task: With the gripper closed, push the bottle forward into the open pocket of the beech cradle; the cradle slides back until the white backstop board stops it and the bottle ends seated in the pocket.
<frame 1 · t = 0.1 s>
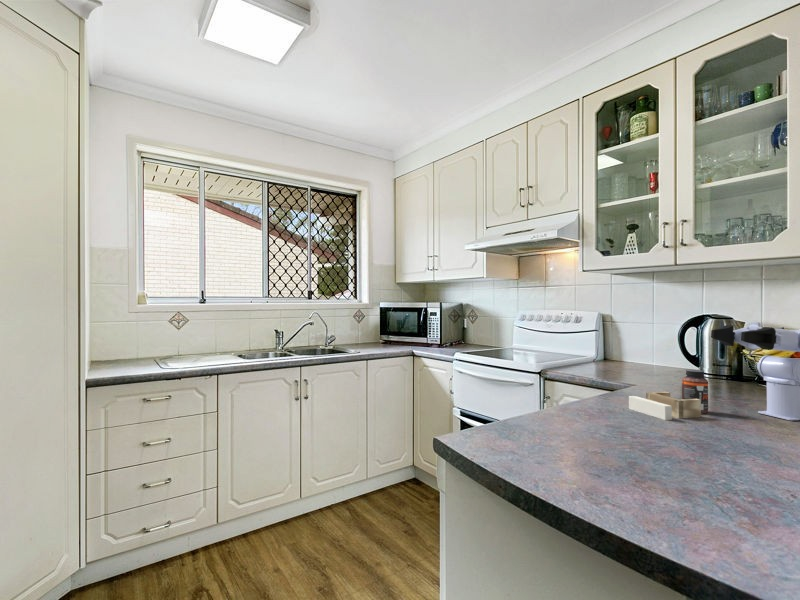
hand: (726, 335, 104), 22 cm above the worktop, tool horizontal, fingers open, 7 cm apart
cradle: (672, 404, 111), point 2 cm above the worktop, slide at 0.0 cm
backstop: (649, 413, 110), on the worktop
supplement bottle: (695, 412, 113), on the worktop
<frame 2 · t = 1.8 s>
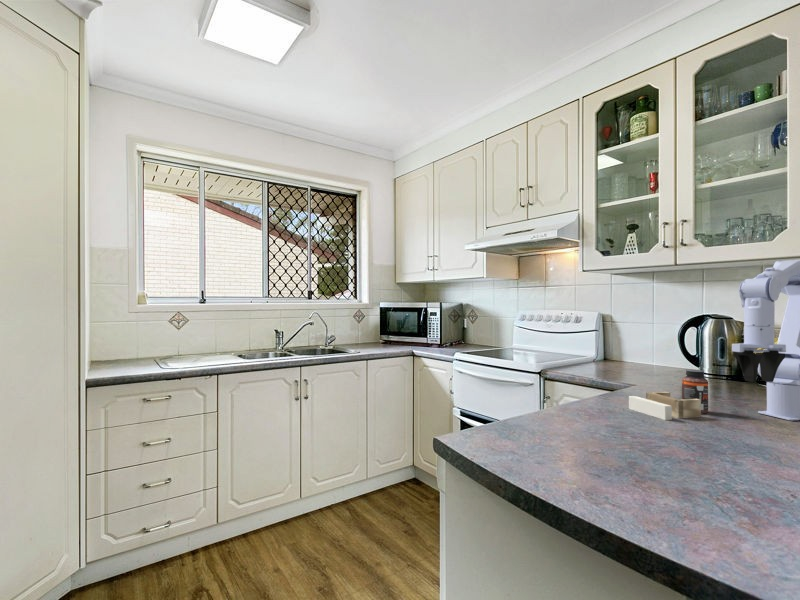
hand: (759, 381, 101), 10 cm above the worktop, tool pointing down, fingers open, 5 cm apart
nothing on the worktop moved.
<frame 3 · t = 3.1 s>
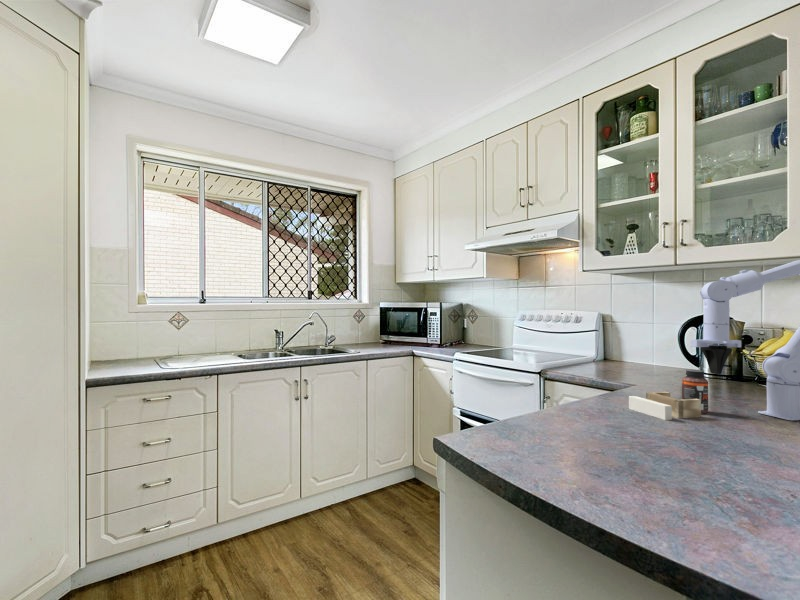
hand: (715, 373, 114), 10 cm above the worktop, tool pointing down, fingers closed
nothing on the worktop moved.
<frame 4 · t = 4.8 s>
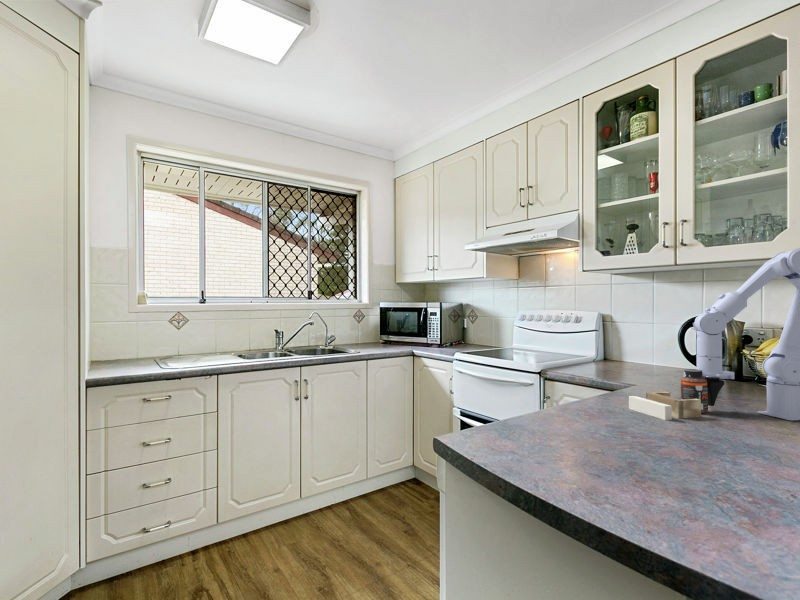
hand: (709, 405, 114), 1 cm above the worktop, tool pointing down, fingers closed
supplement bottle: (695, 411, 113), on the worktop, touching gripper
everything else where it was.
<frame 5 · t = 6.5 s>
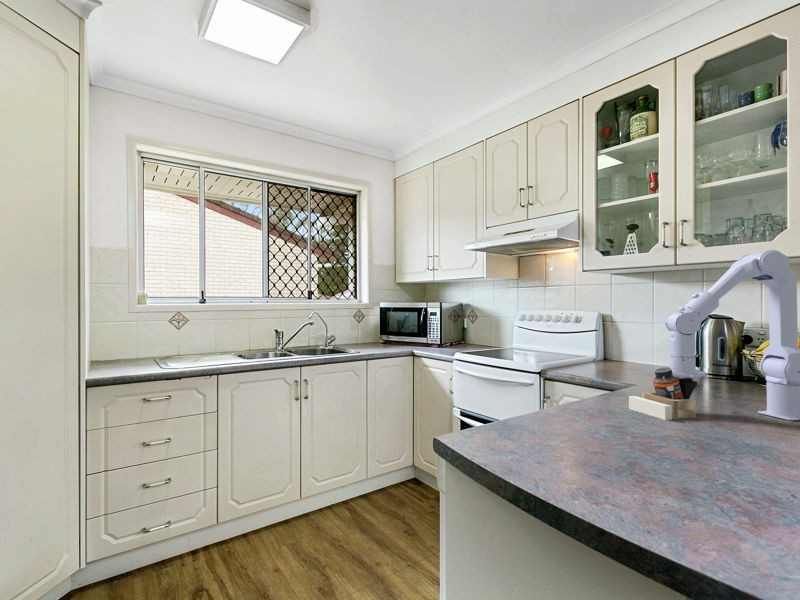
hand: (683, 406, 112), 2 cm above the worktop, tool pointing down, fingers closed, pressing on supplement bottle
cradle: (667, 404, 111), point 2 cm above the worktop, slide at 1.7 cm
supplement bottle: (673, 410, 111), point 1 cm above the worktop, touching gripper
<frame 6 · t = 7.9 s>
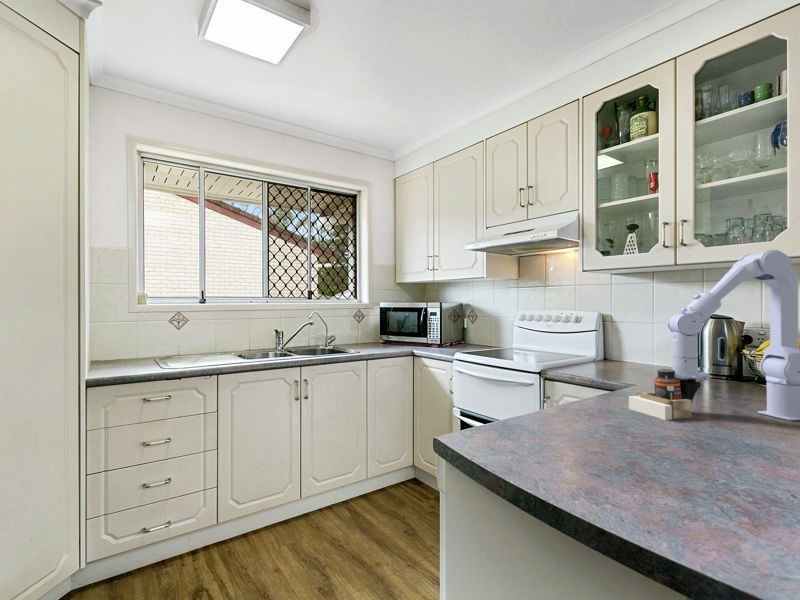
hand: (685, 407, 112), 1 cm above the worktop, tool pointing down, fingers closed
cradle: (663, 404, 111), point 2 cm above the worktop, slide at 3.0 cm, touching backstop
supplement bottle: (669, 412, 111), on the worktop, touching gripper
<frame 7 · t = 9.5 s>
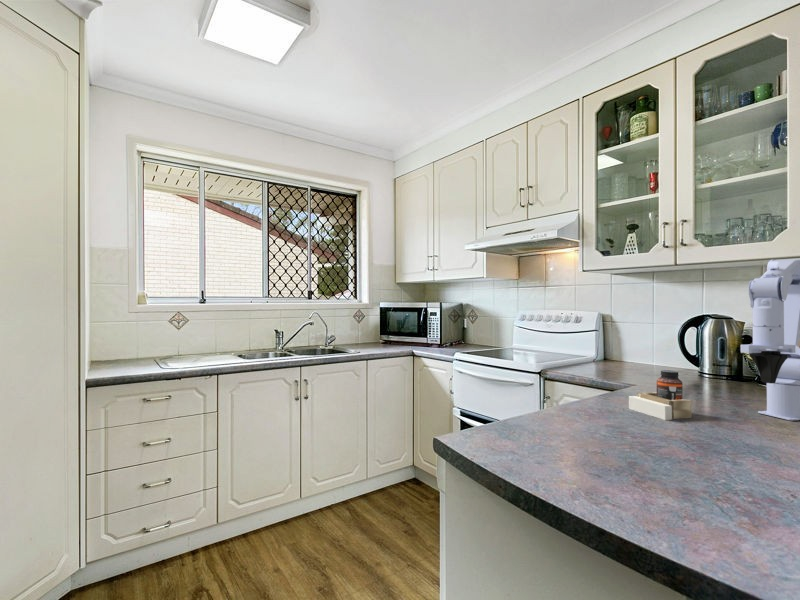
hand: (768, 382, 99), 10 cm above the worktop, tool pointing down, fingers closed
supplement bottle: (669, 413, 111), on the worktop
everything else where it was.
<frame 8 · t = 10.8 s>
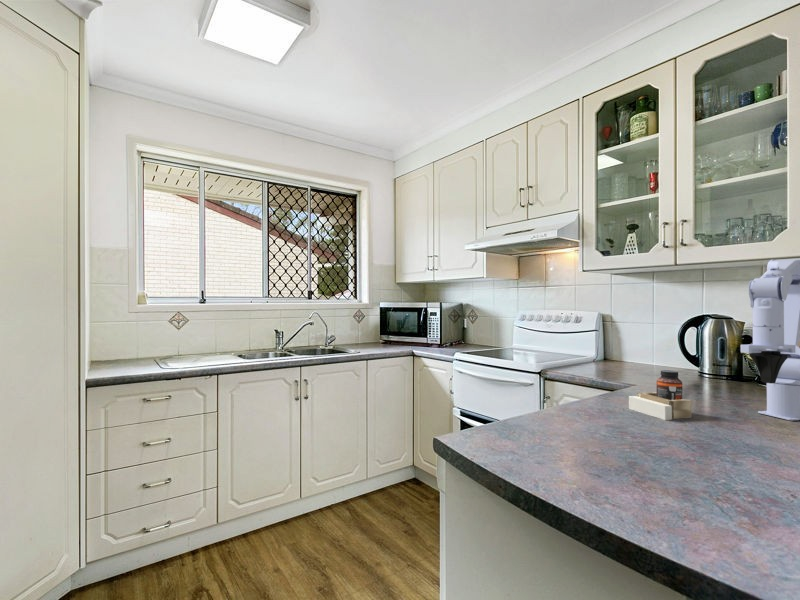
hand: (768, 382, 99), 10 cm above the worktop, tool pointing down, fingers closed
nothing on the worktop moved.
at the end: cradle slide at 3.0 cm; supplement bottle 1.5 cm from the target spot on the cradle, point 0.0 cm above the cradle's base; supplement bottle tilted 0° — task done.
